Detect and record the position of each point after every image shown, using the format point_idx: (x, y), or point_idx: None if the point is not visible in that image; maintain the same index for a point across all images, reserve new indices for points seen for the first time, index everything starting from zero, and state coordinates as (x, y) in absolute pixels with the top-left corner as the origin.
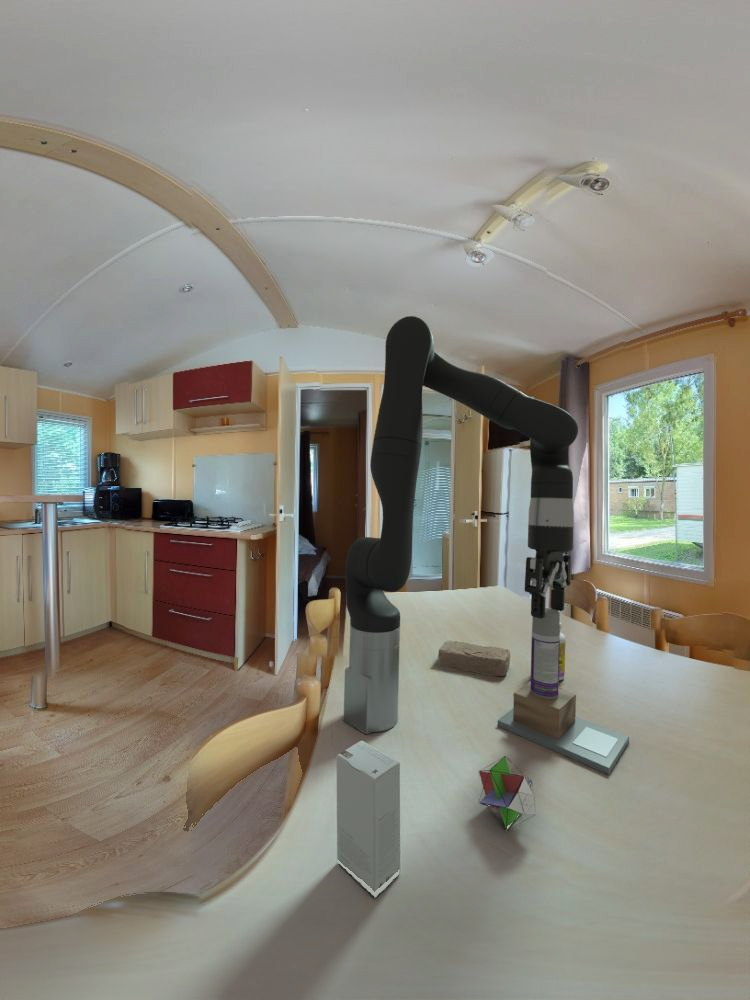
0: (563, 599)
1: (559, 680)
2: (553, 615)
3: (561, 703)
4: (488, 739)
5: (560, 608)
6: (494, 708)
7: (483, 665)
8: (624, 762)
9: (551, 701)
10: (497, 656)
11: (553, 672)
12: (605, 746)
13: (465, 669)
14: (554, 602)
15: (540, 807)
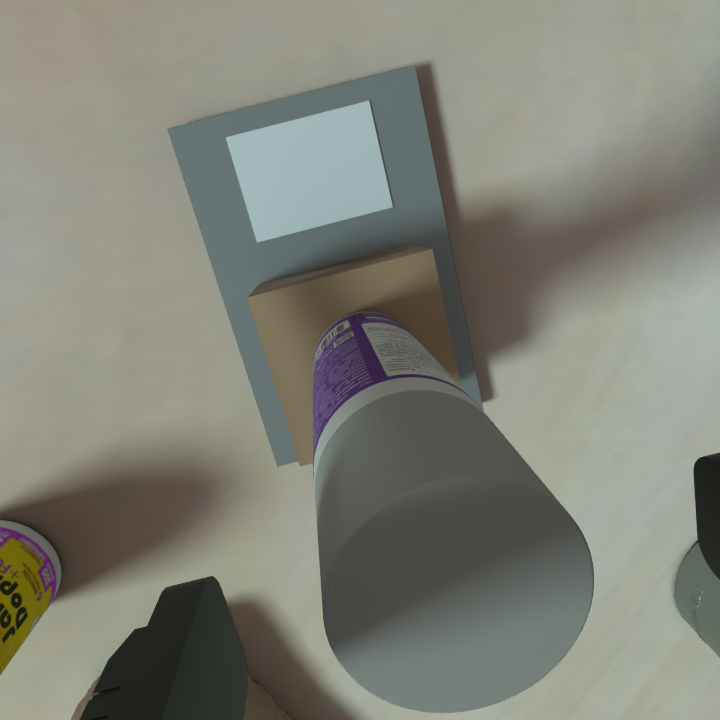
0: (153, 687)
1: (3, 520)
2: (516, 476)
3: (380, 275)
4: (558, 366)
5: (212, 606)
6: None
7: None
8: (304, 78)
9: (401, 305)
10: None
11: (400, 335)
12: (312, 136)
13: (279, 708)
14: (224, 716)
15: (690, 98)
